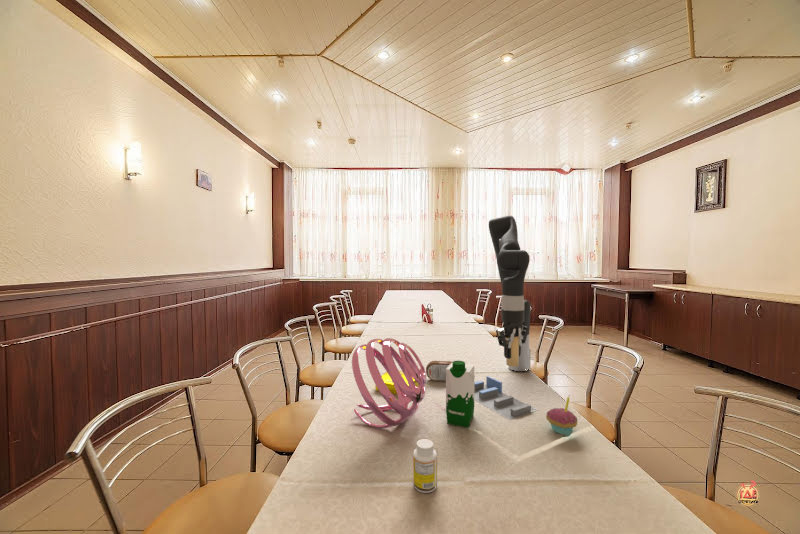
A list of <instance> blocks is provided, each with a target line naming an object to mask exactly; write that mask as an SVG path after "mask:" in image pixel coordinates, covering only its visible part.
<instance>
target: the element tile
mask: <svg viewBox="0 0 800 534" xmlns="http://www.w3.org/2000/svg"><path fill="white" fill-rule="evenodd" d="M399 372H400V374H401V376H402V377H403V379H404V380H405V382H406V383H407V384H408V382H407V380H406V377H405V375H404V373H403V372H402V370H401V371H400V370H399ZM381 377H382V379H383V380H384V382H385V384H386V386H387V387H388V389H389V390H390V392H391V393H392V395H395V394H396V396H398V394H397V391H396V389H395V386H394V384H393V382H392V380H391V378H390V376H389V374H388V373H387V371H385V373H384V374H382V375H381ZM412 378H413V377H412ZM413 381H414V383H415V386H416V387H418V385H419V384H418V383H417V382H416V381H415V380H414V379H413ZM374 384H375V383H374ZM408 385H409V384H408ZM374 386H375V387H374V389H376V390H377V391H376V390H375V391H376V392H379V390H378V388H377V386H376V384H375V385H374Z"/></svg>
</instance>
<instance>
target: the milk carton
mask: <svg viewBox="0 0 800 534" xmlns="http://www.w3.org/2000/svg"><path fill="white" fill-rule="evenodd" d="M474 382H475V364H468V363H466V362H465V361H463V360H454V361H452V363H451V364H450V365H449V366H448V367H447V368H446V381H445V413H446V424H449V425H453V426H457V427H462V428H466V429H468V428H469V427H470V425H471V422H472V419H473V417H474V413H475V400H474Z"/></svg>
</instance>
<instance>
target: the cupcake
mask: <svg viewBox="0 0 800 534" xmlns="http://www.w3.org/2000/svg"><path fill="white" fill-rule="evenodd" d="M569 404H570V394H569V395H568V397H567V398H566V402H565V407H564V408H563V407H560V408H558V407H557V408H556V407H554V408H552V409H550V410H548V411H547V412H546V414H545V418H546V420H547V421H548V422H549V424H550V425H551V429H552V430H553V431H554V432H555V433H557V434H560V435H563V436H562V437H563V438H568V437H570V436H571V433H572V431H573V429H574V428H576V427H577V425H578V417H577V416H576V415H575V414H574V413H573V412H571V411H570V410H569Z"/></svg>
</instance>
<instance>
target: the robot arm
mask: <svg viewBox="0 0 800 534" xmlns="http://www.w3.org/2000/svg"><path fill="white" fill-rule="evenodd" d="M488 230H489V234H490V239H491V242H492V245H493V248H494V250H493V251H494V253H495V257H496V258H495V260H496V264H497V270H498V275H499V280H500V284H501V294H502V295H501V300H500V302H501V303H500V305H501V306H500V308H501V309H500V310H501V312H500V313H501V314H500V315H501V319H500V320H501V322H502V326H501V328H500V329H496V330H495V334H496V337H497V342H498V345H499V346H501V347H503V357H504V358H507V359H511V348H510V347H511V343H512V342H513V339H514V337H517V336H518V337H519V366H517V367H512V366H508V369H509V370H510V369H511V370H510V371H512V370H514V371H513V372H516V371H526V370H527V369H529V370H531V349H530V329H531V327H530V326H531V311H532V310H531V303H530V301H529V300H527V299H525V298H524V295H525V294H524V292H525V291H524V290H525V287H524V286H525V278H526V275H527V270H528V268H529V265H530V255H529V253H528V251H526V250H524V249H523V250H522V249H521V247H520V244H519V243H520V242H519V239H518V238H519V237H518V226H517V222H516V219H515V217H514V216H513V215H505V216H500V217H495V218H492V219H489V221H488ZM507 337H510V338H507ZM507 341H508V344H507ZM525 369H526V370H525Z"/></svg>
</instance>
